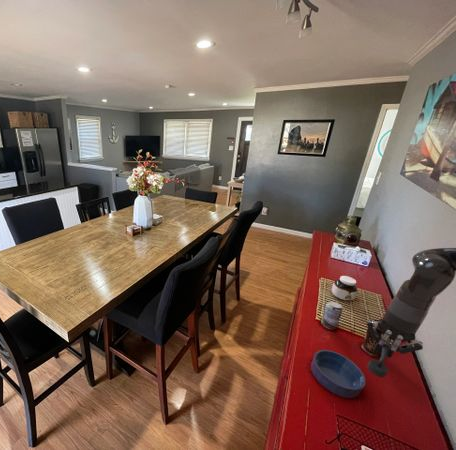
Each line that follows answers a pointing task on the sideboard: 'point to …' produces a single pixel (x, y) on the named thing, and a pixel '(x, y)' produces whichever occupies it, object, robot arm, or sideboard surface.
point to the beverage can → (331, 315)
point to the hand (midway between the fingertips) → (381, 353)
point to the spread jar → (344, 288)
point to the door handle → (379, 362)
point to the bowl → (337, 374)
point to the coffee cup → (371, 342)
